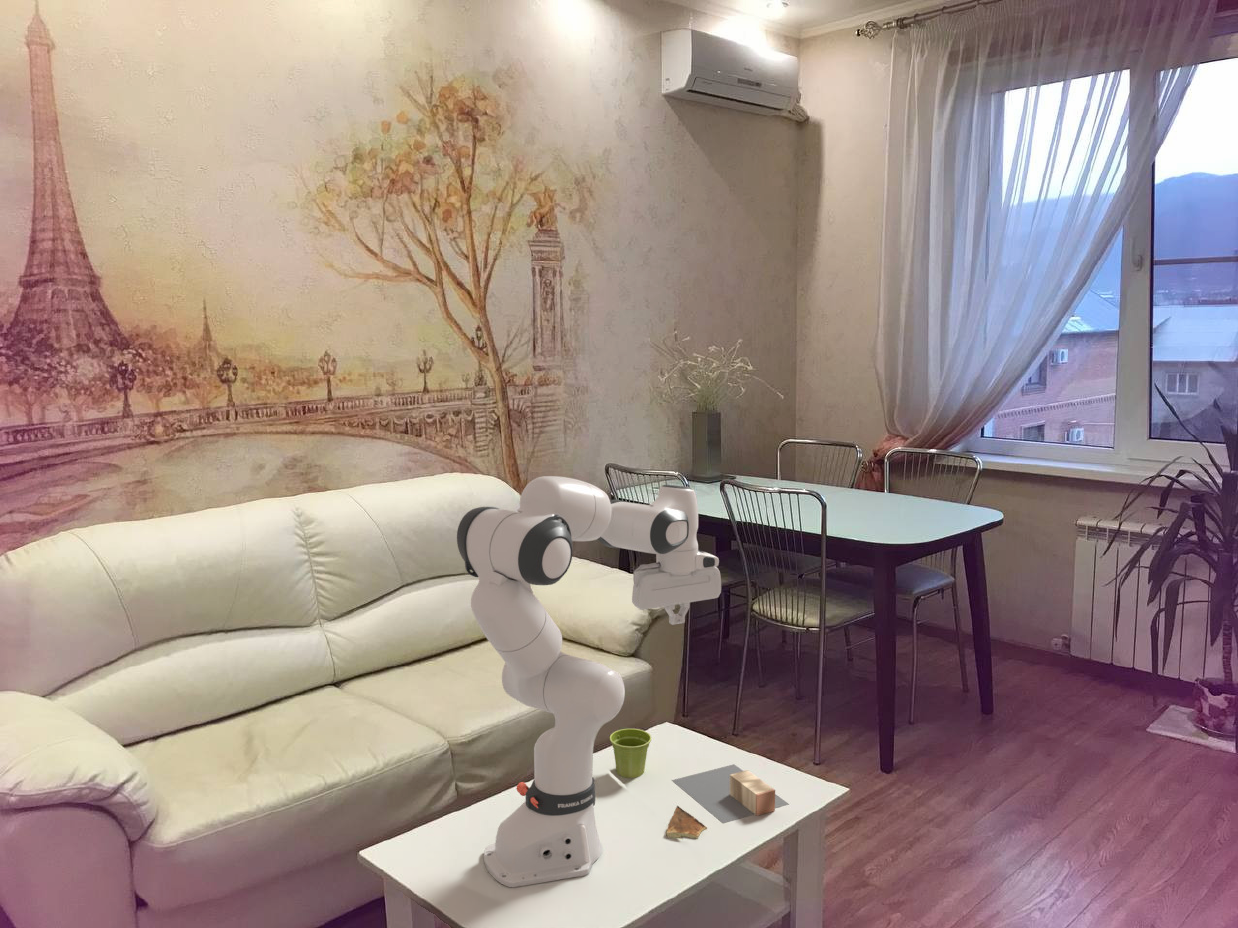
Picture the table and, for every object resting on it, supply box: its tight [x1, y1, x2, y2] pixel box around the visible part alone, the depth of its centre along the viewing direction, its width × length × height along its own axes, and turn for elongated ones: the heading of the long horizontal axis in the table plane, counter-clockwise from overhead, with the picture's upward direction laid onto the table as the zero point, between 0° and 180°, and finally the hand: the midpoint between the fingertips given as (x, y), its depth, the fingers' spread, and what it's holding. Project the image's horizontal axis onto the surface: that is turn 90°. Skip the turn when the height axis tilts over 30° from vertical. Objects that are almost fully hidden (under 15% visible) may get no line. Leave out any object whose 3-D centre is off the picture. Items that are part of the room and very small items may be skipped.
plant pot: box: [609, 728, 652, 779], centre depth 212 cm, size 9×9×9 cm
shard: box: [666, 805, 708, 840], centre depth 190 cm, size 11×8×2 cm
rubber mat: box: [671, 764, 790, 824], centre depth 203 cm, size 16×20×1 cm
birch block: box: [730, 770, 776, 816], centre depth 198 cm, size 4×4×10 cm
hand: (676, 623), depth 201 cm, fingers closed
